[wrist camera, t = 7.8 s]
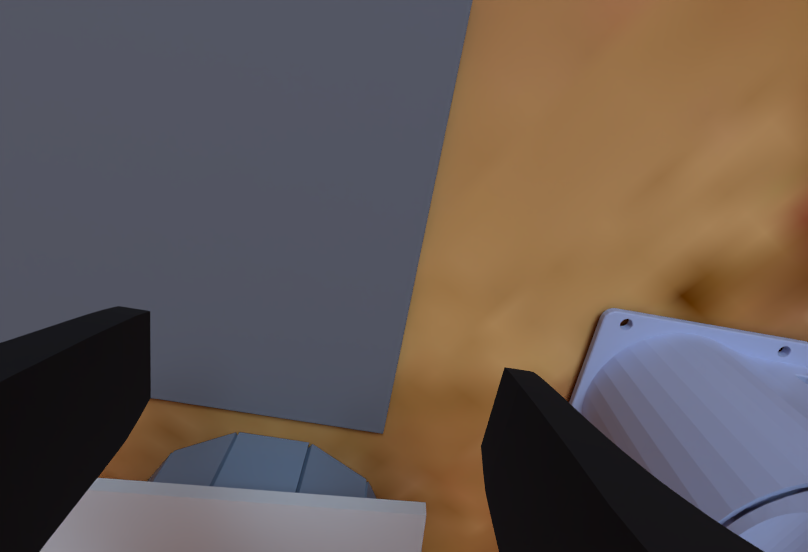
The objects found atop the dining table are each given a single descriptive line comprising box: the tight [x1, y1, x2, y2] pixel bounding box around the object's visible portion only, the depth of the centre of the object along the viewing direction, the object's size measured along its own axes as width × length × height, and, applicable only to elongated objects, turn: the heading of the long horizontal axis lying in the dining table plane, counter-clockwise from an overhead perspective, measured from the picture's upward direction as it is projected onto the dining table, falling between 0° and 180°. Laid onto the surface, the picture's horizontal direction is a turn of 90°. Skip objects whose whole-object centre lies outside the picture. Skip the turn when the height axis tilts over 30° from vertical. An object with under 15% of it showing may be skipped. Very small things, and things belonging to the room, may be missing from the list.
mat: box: [0, 0, 472, 434], centre depth 19 cm, size 18×18×1 cm
